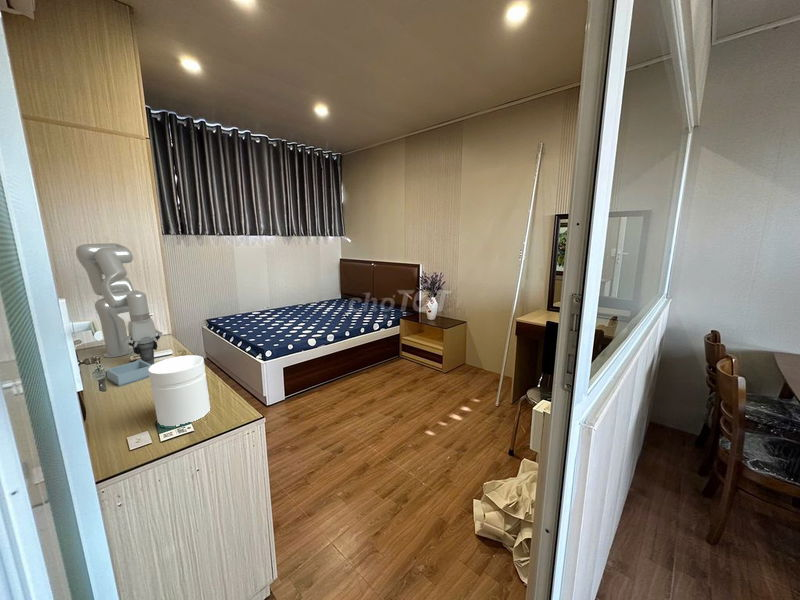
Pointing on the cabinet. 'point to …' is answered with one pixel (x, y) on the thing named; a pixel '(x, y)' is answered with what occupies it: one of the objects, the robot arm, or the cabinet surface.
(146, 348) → the beverage cup
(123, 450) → the cabinet surface
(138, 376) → the bin
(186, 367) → the canister
